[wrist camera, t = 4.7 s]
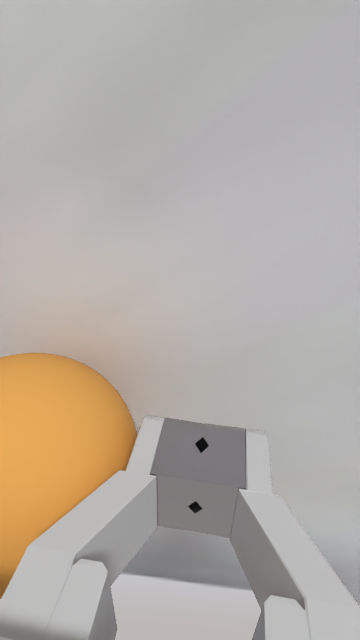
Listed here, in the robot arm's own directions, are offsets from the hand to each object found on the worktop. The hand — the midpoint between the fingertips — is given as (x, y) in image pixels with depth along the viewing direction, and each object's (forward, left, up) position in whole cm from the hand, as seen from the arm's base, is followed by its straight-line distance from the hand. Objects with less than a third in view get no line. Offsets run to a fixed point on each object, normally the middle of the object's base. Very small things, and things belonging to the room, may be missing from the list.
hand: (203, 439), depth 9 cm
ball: (-3, -3, +1) cm, 4 cm away
